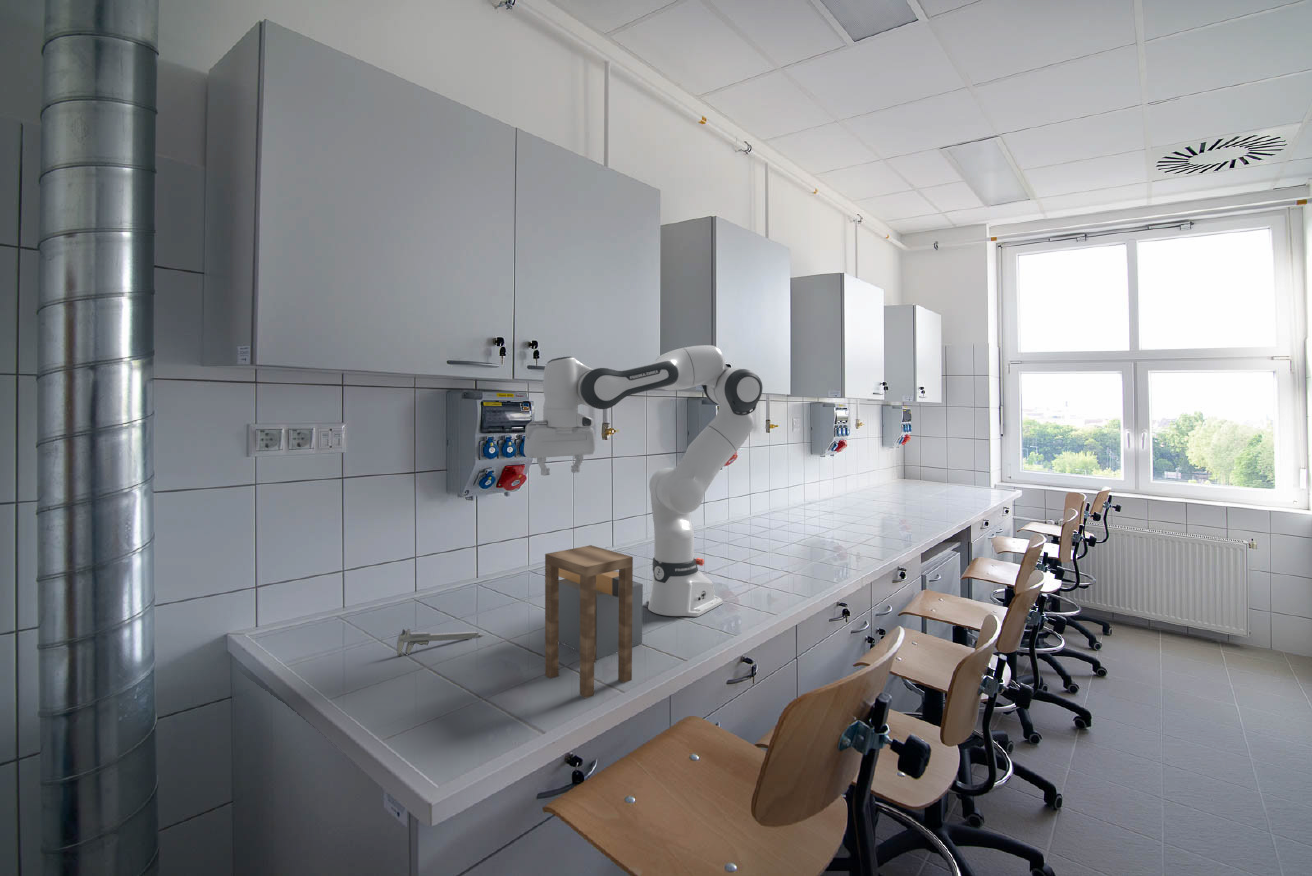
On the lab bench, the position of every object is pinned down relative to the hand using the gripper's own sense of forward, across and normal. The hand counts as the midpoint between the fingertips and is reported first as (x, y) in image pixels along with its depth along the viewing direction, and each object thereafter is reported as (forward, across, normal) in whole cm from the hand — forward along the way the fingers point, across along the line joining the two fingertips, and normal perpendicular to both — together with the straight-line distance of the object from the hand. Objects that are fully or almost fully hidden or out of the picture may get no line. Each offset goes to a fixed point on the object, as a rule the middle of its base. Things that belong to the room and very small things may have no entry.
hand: (560, 473), depth 163 cm
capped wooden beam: (+25, -3, -17) cm, 30 cm away
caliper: (+40, -30, +6) cm, 50 cm away
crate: (+39, -1, -17) cm, 43 cm away
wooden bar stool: (+39, -15, -31) cm, 52 cm away
